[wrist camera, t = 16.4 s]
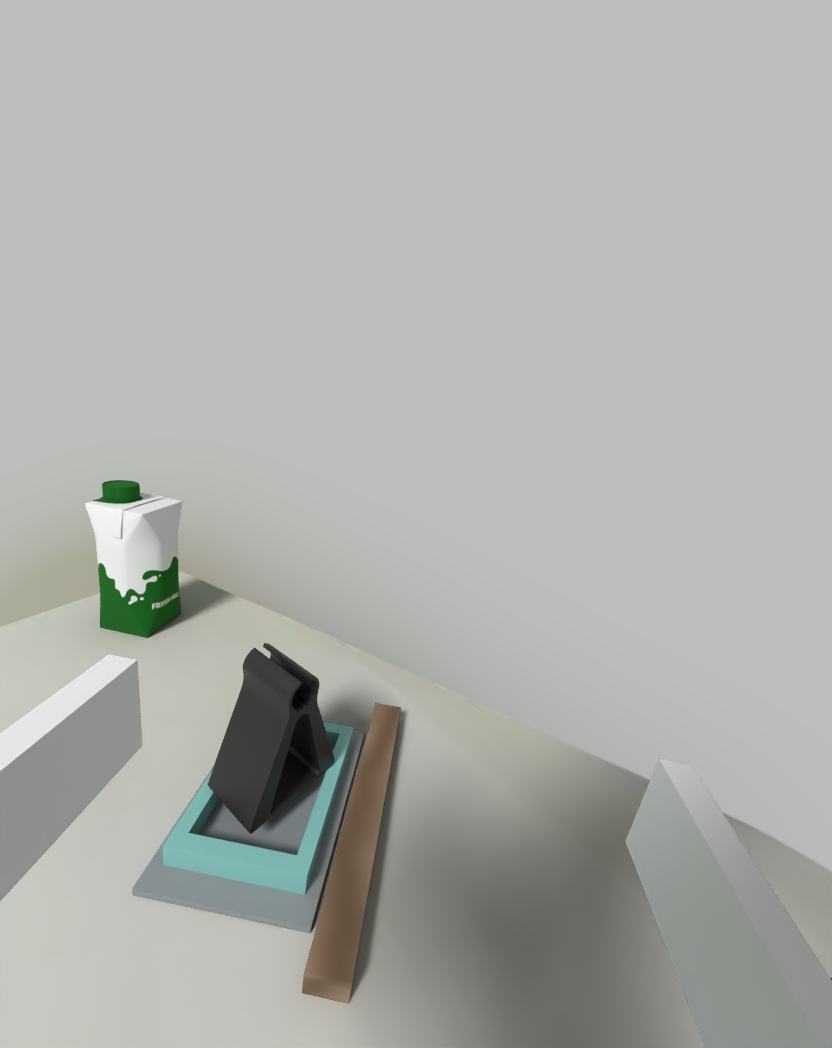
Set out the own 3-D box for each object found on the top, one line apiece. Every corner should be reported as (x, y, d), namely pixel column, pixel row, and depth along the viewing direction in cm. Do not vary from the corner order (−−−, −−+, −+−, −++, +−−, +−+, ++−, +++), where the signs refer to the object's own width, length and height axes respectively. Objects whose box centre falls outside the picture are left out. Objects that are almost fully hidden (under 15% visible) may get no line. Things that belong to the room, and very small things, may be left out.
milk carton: (137, 600, 65) (130, 475, 59) (191, 612, 64) (190, 486, 58) (87, 629, 56) (74, 487, 51) (149, 643, 56) (142, 499, 50)
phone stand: (294, 729, 42) (301, 626, 39) (334, 764, 39) (347, 655, 36) (207, 787, 35) (207, 668, 32) (248, 836, 32) (253, 709, 28)
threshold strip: (398, 721, 49) (400, 707, 48) (348, 1003, 26) (351, 983, 25) (373, 716, 49) (375, 702, 48) (302, 992, 26) (304, 973, 26)
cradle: (364, 735, 46) (366, 716, 45) (310, 933, 29) (313, 907, 28) (251, 713, 47) (251, 694, 46) (132, 894, 30) (130, 869, 29)
